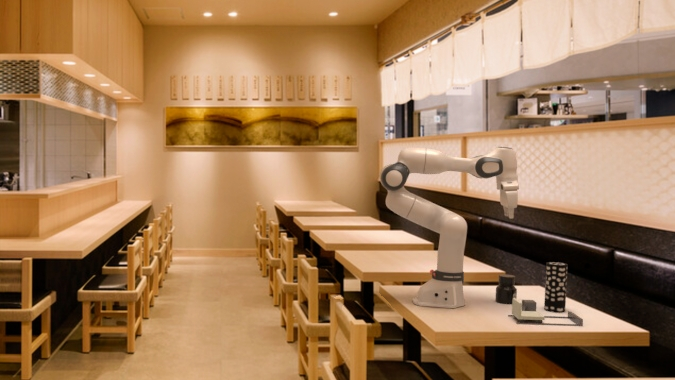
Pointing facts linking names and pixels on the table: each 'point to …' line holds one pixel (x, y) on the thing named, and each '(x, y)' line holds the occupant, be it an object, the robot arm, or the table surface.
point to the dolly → (525, 313)
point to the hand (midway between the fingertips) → (509, 217)
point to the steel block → (528, 305)
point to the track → (571, 316)
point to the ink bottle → (506, 289)
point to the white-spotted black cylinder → (555, 287)
